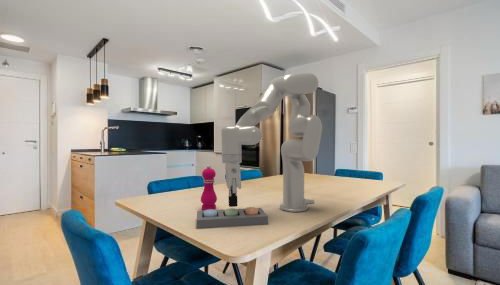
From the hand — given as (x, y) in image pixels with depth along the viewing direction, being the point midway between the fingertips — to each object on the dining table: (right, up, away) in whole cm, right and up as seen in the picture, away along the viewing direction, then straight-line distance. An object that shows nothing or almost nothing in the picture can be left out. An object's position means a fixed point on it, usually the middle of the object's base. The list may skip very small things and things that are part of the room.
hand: (233, 206), depth 99 cm
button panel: (-1, -6, 0) cm, 6 cm away
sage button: (-1, -5, 0) cm, 5 cm away
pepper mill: (-12, -6, +17) cm, 21 cm away
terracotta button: (+7, -4, +1) cm, 9 cm away
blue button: (-8, -4, -2) cm, 10 cm away
